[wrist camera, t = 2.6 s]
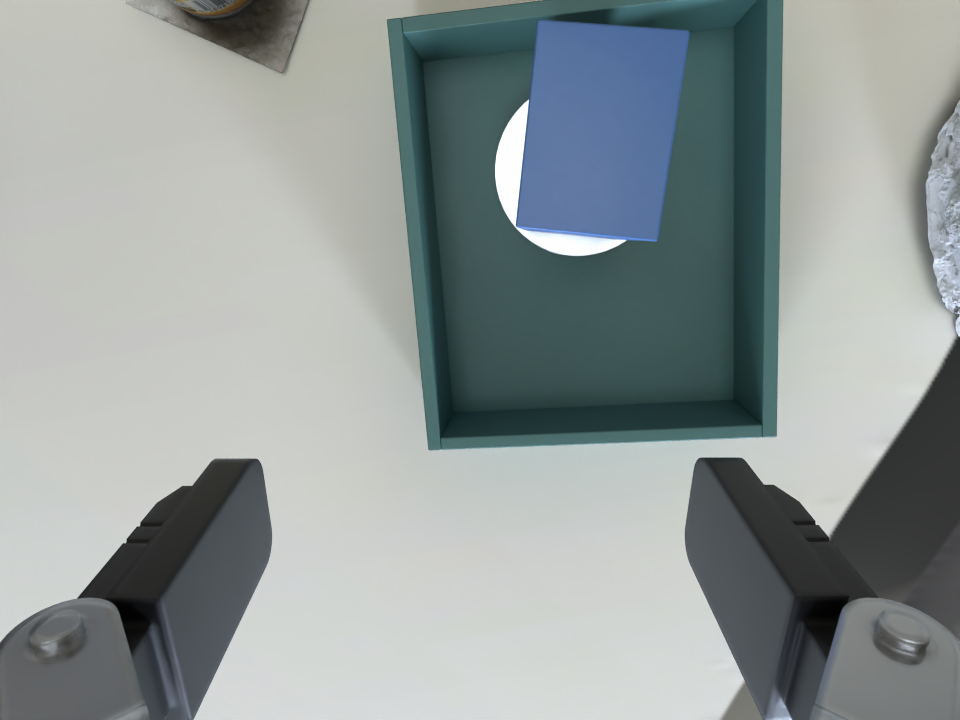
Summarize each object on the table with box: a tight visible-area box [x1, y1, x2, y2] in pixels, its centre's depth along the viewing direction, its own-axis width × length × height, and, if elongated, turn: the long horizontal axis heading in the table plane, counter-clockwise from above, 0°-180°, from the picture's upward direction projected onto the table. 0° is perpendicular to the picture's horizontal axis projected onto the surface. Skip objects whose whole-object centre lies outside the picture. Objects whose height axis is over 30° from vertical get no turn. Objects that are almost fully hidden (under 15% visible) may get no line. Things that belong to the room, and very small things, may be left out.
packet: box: [515, 20, 690, 241], centre depth 24 cm, size 4×6×10 cm
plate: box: [494, 99, 628, 257], centre depth 29 cm, size 8×8×1 cm
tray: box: [387, 0, 783, 450], centre depth 28 cm, size 15×18×5 cm
